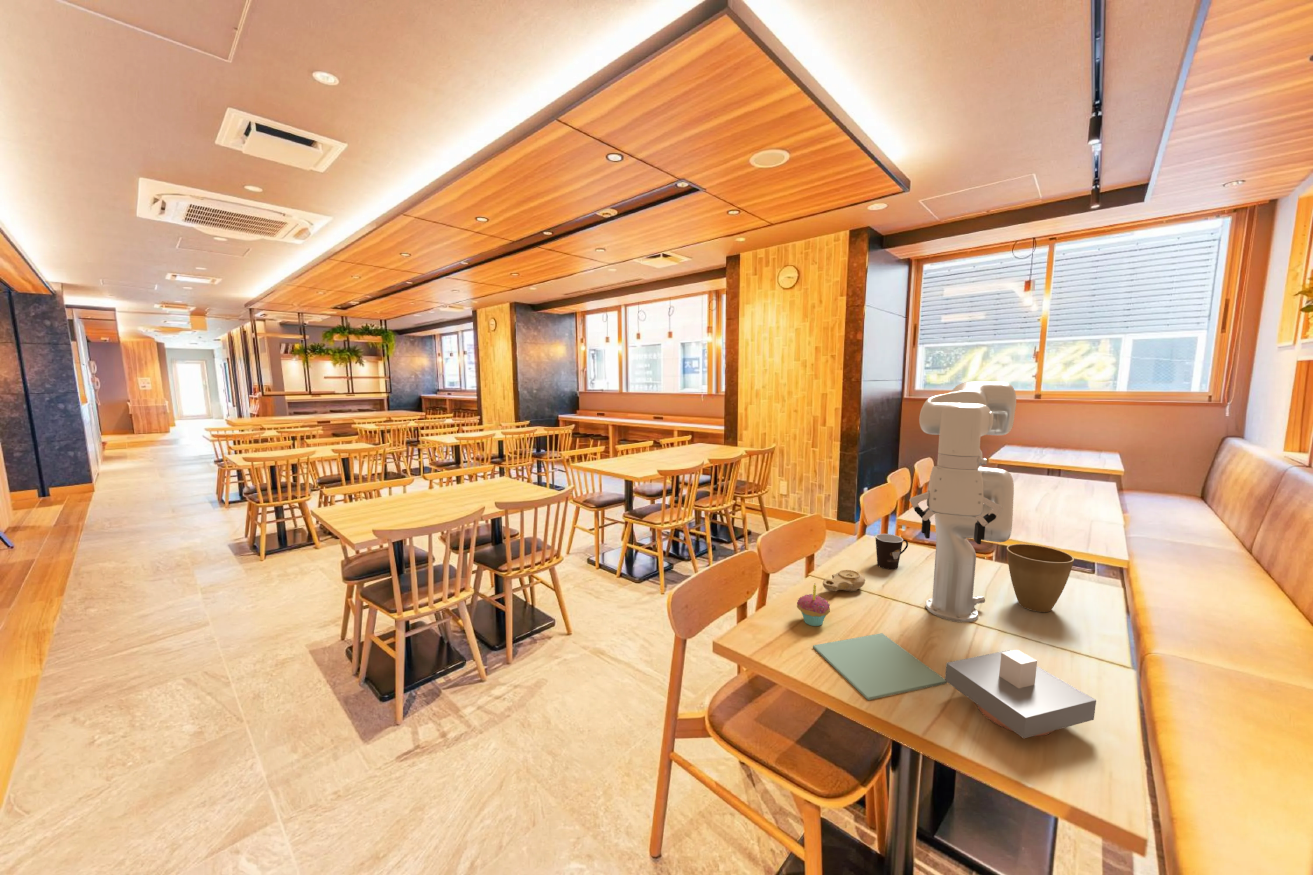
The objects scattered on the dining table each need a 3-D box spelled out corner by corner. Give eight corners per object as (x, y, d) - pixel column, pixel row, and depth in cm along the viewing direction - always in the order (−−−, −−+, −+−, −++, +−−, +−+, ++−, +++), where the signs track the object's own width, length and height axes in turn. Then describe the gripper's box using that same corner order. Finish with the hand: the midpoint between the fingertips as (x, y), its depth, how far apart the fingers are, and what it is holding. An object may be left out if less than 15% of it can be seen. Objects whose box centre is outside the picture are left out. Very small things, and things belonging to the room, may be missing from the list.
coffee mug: (877, 570, 165) (879, 541, 163) (870, 560, 173) (872, 533, 172) (914, 572, 163) (916, 543, 162) (906, 562, 171) (907, 534, 170)
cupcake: (831, 631, 127) (833, 587, 125) (797, 628, 129) (799, 585, 127) (827, 615, 135) (828, 573, 134) (795, 612, 137) (796, 571, 136)
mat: (881, 635, 125) (882, 633, 125) (946, 683, 106) (947, 680, 106) (812, 647, 120) (813, 645, 120) (868, 700, 101) (868, 697, 101)
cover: (1007, 666, 106) (1011, 628, 105) (1093, 719, 90) (1099, 674, 89) (944, 680, 102) (947, 640, 101) (1023, 738, 86) (1028, 691, 85)
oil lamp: (820, 594, 148) (820, 579, 147) (832, 577, 160) (833, 563, 159) (857, 604, 142) (858, 587, 141) (867, 585, 154) (868, 570, 153)
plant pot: (1079, 611, 136) (1085, 556, 134) (1049, 624, 129) (1055, 566, 127) (1020, 590, 149) (1025, 539, 147) (990, 600, 143) (995, 548, 140)
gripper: (1000, 462, 105) (993, 539, 107) (910, 457, 112) (905, 530, 114) (1010, 468, 99) (1003, 550, 100) (914, 462, 105) (909, 539, 107)
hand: (951, 539), depth 107 cm, fingers open, 9 cm apart
